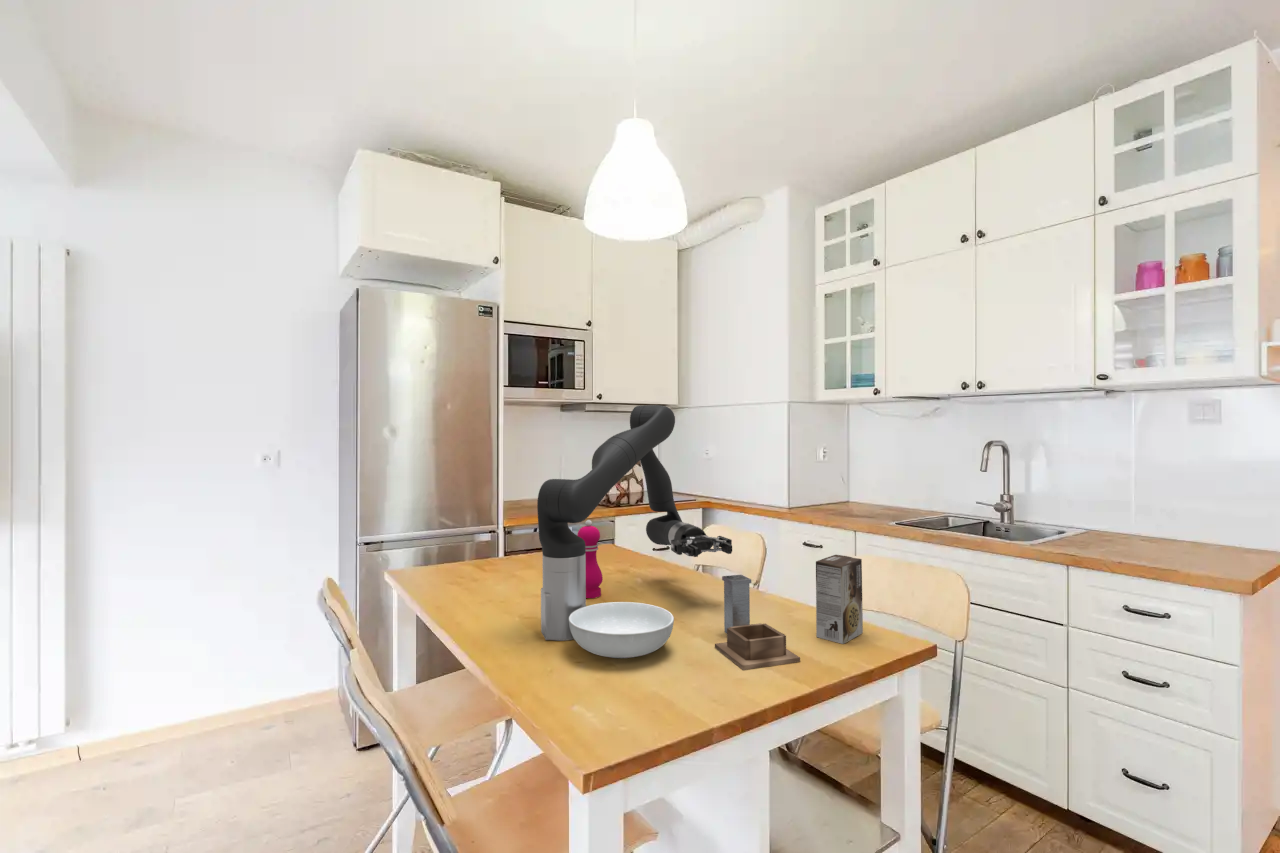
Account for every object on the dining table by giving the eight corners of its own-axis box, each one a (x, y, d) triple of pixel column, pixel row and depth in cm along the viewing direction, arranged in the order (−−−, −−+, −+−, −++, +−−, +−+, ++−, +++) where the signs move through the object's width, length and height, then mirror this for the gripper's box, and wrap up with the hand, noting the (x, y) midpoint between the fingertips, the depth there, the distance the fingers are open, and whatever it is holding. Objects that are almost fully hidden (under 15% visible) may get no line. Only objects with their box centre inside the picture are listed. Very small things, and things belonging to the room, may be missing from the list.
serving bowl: (642, 679, 108) (641, 640, 108) (547, 658, 118) (547, 622, 118) (691, 642, 126) (691, 609, 126) (605, 627, 136) (605, 596, 136)
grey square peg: (732, 638, 128) (731, 581, 128) (722, 631, 132) (722, 576, 132) (751, 636, 129) (751, 579, 129) (741, 629, 134) (741, 574, 134)
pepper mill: (601, 599, 158) (601, 522, 158) (573, 599, 158) (573, 522, 158) (603, 591, 165) (603, 517, 165) (577, 591, 166) (576, 518, 166)
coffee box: (835, 627, 135) (835, 553, 135) (863, 633, 130) (863, 558, 130) (814, 637, 129) (814, 560, 129) (843, 644, 124) (843, 565, 124)
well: (742, 669, 111) (742, 645, 111) (714, 647, 123) (714, 625, 123) (800, 661, 115) (800, 638, 115) (767, 640, 126) (767, 619, 126)
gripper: (660, 526, 155) (685, 537, 140) (712, 522, 160) (741, 532, 144) (661, 555, 156) (685, 570, 140) (712, 550, 160) (741, 564, 145)
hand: (713, 551), depth 142 cm, fingers open, 8 cm apart
